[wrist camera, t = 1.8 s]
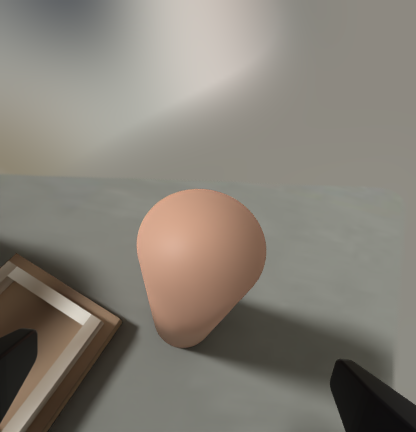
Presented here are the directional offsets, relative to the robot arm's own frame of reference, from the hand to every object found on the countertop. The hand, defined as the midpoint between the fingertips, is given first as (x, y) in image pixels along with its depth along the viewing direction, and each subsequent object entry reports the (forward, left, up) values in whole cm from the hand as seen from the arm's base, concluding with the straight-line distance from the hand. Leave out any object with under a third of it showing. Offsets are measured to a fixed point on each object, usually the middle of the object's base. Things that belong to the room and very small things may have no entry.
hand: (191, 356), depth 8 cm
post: (+1, -3, -12) cm, 13 cm away
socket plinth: (+10, +4, -12) cm, 16 cm away
